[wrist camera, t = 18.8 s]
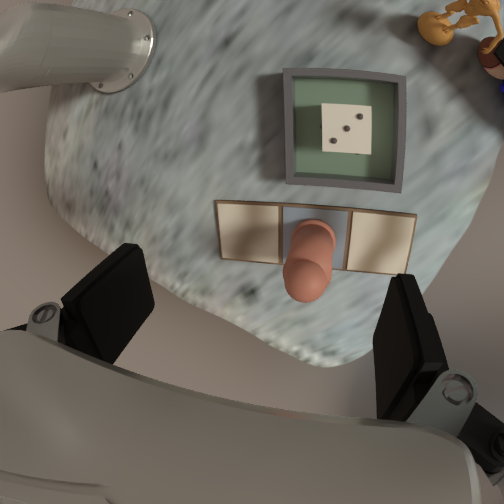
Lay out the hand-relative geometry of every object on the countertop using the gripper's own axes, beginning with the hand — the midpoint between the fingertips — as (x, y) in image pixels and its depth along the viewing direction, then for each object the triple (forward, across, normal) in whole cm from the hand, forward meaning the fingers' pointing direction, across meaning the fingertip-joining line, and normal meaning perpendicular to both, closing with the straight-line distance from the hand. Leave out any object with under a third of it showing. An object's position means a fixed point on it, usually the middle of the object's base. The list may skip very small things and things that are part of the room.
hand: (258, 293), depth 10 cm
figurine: (+24, -15, -18) cm, 33 cm away
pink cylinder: (+23, -2, +9) cm, 25 cm away
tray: (+24, -4, -4) cm, 24 cm away
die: (+23, -4, -4) cm, 24 cm away
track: (+24, -2, +9) cm, 25 cm away
